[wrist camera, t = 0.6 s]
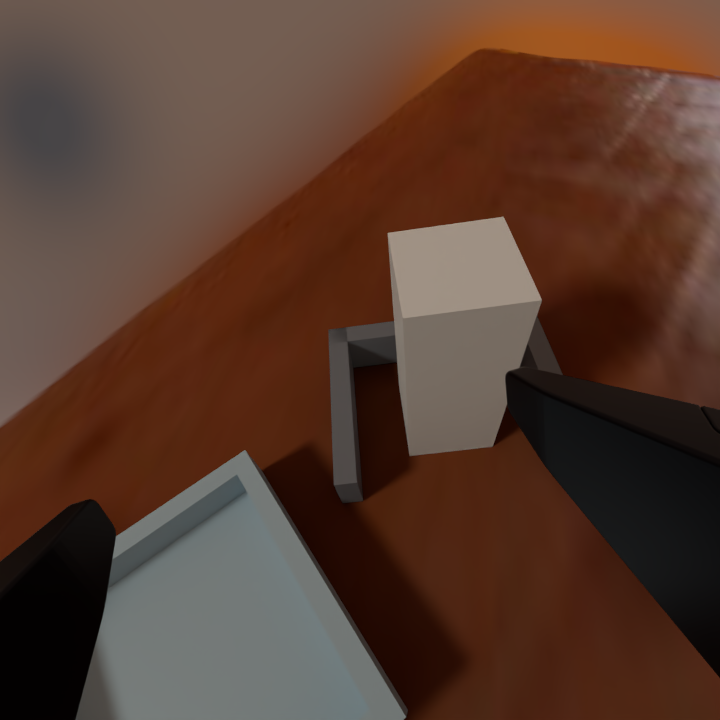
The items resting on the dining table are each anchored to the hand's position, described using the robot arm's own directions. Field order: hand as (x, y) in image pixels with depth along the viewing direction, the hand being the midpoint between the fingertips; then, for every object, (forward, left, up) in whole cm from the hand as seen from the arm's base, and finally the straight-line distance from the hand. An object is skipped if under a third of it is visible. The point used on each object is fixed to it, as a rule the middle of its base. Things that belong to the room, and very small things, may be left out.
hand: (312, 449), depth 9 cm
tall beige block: (+5, -9, -16) cm, 19 cm away
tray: (+2, +9, -16) cm, 18 cm away
